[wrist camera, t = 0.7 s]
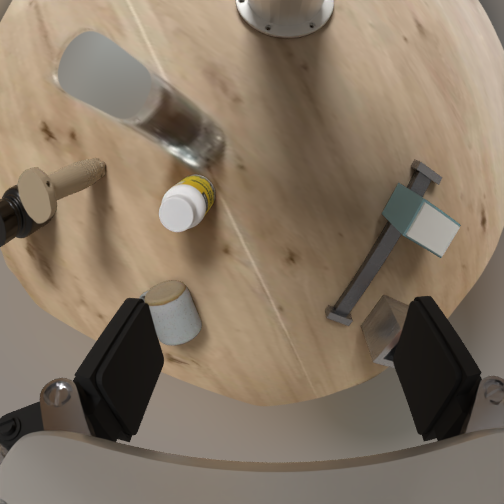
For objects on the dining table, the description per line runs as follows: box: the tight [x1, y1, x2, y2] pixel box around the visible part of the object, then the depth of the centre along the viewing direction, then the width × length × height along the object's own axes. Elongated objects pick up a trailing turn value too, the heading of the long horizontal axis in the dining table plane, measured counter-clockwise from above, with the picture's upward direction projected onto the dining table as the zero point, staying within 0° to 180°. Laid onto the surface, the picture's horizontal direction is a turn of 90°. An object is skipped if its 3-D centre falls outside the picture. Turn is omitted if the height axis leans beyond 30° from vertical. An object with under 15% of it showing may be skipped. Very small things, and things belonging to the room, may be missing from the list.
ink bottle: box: [0, 184, 52, 247], centre depth 36 cm, size 10×9×12 cm
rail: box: [325, 159, 442, 326], centre depth 40 cm, size 27×4×2 cm, turn 157°
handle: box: [18, 158, 106, 223], centre depth 32 cm, size 5×6×15 cm
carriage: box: [382, 183, 461, 258], centre depth 34 cm, size 5×7×9 cm
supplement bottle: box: [159, 175, 215, 232], centre depth 35 cm, size 5×5×10 cm
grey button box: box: [361, 295, 409, 368], centre depth 43 cm, size 7×7×9 cm
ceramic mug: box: [140, 280, 202, 345], centre depth 45 cm, size 11×8×8 cm
